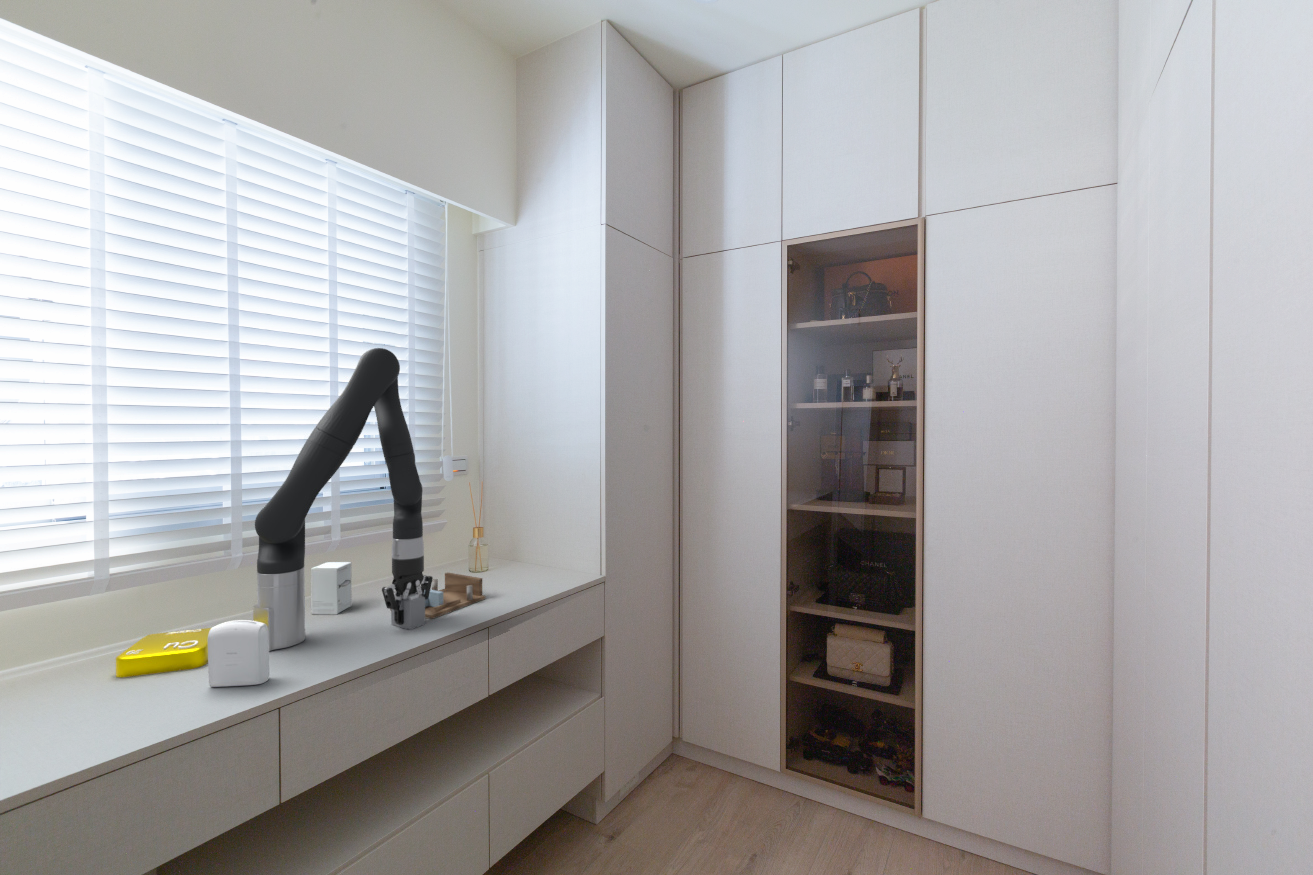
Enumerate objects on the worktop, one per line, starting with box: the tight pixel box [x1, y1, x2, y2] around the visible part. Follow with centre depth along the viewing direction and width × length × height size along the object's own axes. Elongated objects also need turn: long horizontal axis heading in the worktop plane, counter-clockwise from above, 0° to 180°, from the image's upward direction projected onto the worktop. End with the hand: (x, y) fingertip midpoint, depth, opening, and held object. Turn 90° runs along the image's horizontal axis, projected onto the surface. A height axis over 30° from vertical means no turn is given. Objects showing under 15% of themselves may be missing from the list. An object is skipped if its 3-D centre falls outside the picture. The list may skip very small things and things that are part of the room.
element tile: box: [115, 627, 212, 679], centre depth 123 cm, size 15×15×5 cm
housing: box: [389, 572, 486, 620], centre depth 161 cm, size 20×16×6 cm
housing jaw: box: [424, 589, 443, 607], centre depth 155 cm, size 6×11×4 cm, turn 63°
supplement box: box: [310, 561, 353, 615], centre depth 156 cm, size 7×7×13 cm
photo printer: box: [207, 619, 270, 688], centre depth 112 cm, size 10×4×12 cm, turn 96°
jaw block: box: [390, 594, 426, 630], centre depth 145 cm, size 4×7×8 cm, turn 63°
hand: (408, 620), depth 145 cm, fingers closed on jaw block, 4 cm apart
